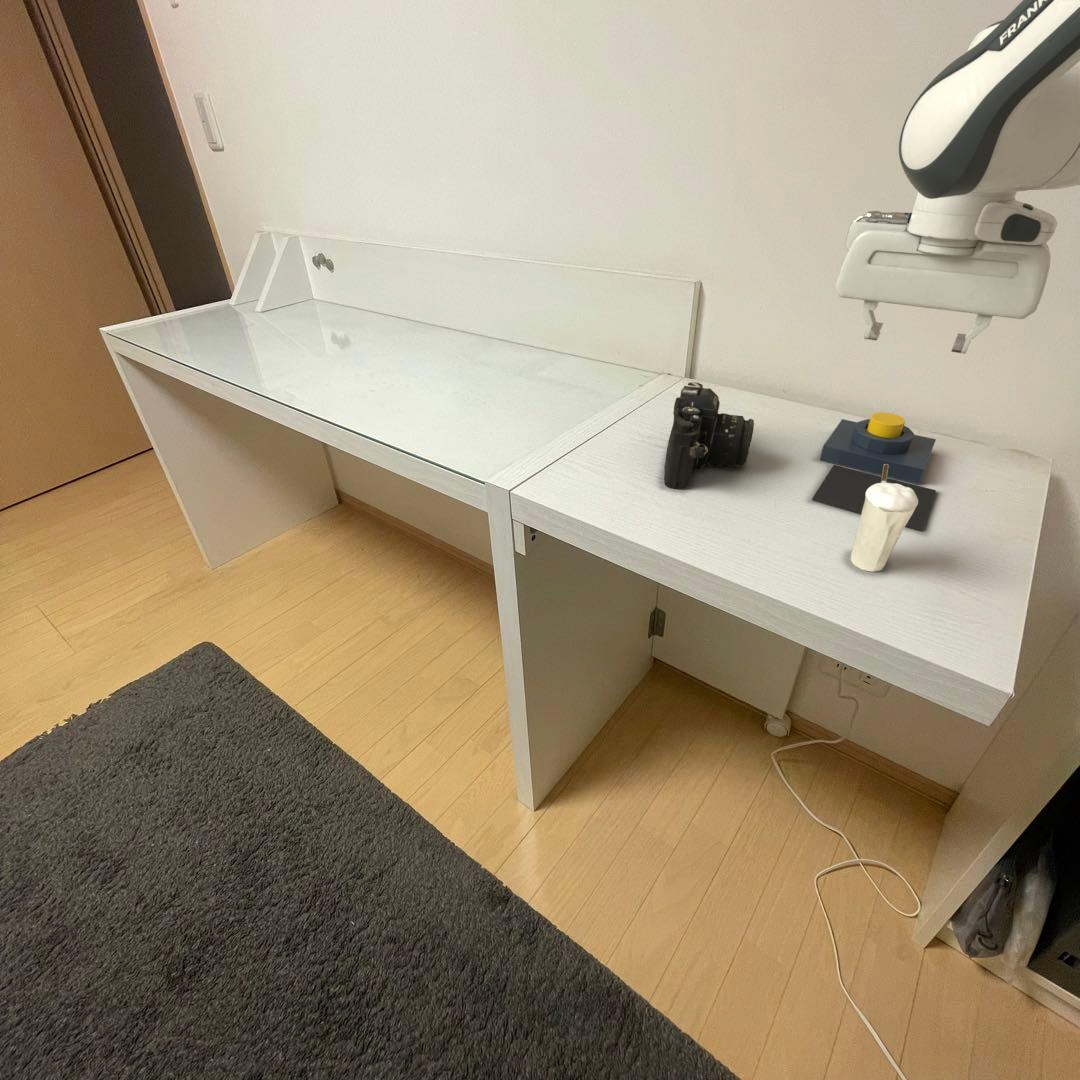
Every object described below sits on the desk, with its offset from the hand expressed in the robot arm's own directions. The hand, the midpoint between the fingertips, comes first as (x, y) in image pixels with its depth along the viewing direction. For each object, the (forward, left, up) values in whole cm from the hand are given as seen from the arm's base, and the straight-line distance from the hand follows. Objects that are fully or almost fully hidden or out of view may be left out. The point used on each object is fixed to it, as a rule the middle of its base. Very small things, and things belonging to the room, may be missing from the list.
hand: (913, 344), depth 73 cm
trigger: (0, -1, -12) cm, 12 cm away
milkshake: (-4, +24, -16) cm, 29 cm away
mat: (-2, +10, -15) cm, 19 cm away
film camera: (+19, +13, -16) cm, 28 cm away
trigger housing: (0, -1, -15) cm, 16 cm away
